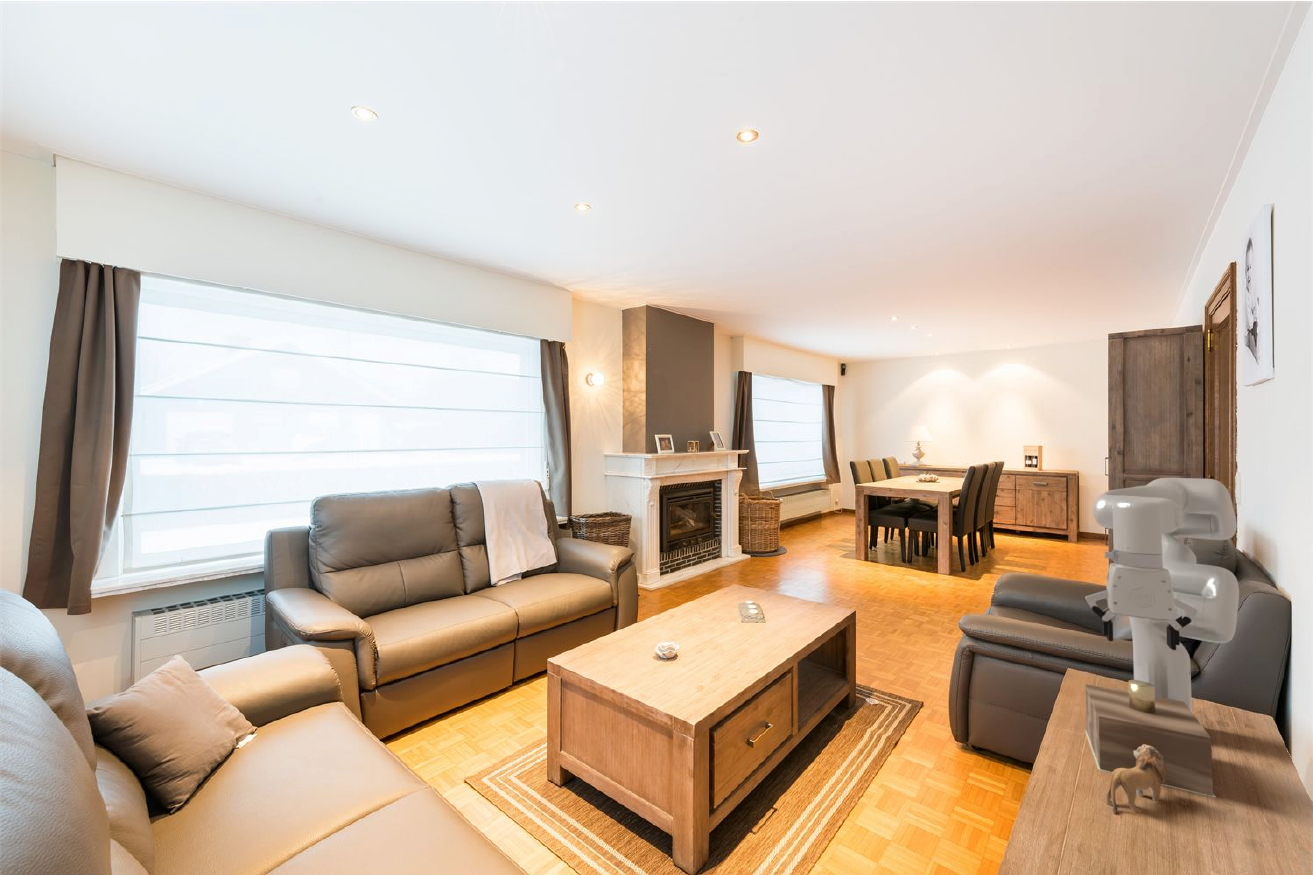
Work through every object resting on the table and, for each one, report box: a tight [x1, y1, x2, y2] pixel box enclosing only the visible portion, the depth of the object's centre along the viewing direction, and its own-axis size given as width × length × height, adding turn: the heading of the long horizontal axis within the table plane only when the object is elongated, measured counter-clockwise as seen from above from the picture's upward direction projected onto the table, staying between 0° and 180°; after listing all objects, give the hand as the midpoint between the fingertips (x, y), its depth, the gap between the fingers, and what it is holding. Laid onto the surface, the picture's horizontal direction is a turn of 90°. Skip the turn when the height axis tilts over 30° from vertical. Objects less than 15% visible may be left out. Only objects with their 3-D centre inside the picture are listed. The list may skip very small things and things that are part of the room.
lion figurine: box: [1104, 744, 1165, 814], centre depth 97 cm, size 15×5×9 cm, turn 116°
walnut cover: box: [1085, 679, 1214, 797], centre depth 110 cm, size 16×16×16 cm
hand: (1139, 643), depth 110 cm, fingers open, 9 cm apart
